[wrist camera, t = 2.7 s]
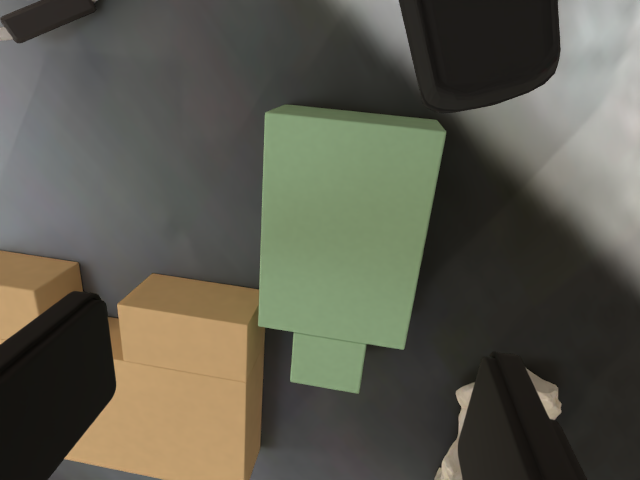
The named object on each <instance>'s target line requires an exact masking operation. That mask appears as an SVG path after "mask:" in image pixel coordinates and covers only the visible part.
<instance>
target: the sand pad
mask: <svg viewBox="0 0 640 480" xmlns="http://www.w3.org/2000/svg"><path fill="white" fill-rule="evenodd" d="M72 291H80V292H83V288H82V281H81V274H80V268H79V263H78V262H72V261H66V260H59V259H53V258H46V257H40V256H33V255H26V254H20V253H13V252H7V251H0V344H2V343H3V342H4V341H6V340H7V339H8V338H10V337H11V336H12V335H14V334H15V333H16V332H18V331H19V330H20V329H22V328H23V327H24V326H26V325H27V324H29V323H30V322H31V321H33V320H34V319H35V318H37V317H38V316H39V315H41V314H42V313H43V312H45V311H46V310H47V309H49V308H50V307H51V306H53V305H54V304H55V303H57V302H58V301H59V300H61V299H62V298H63V297H65V296H66V295H67V294H69V293H71V292H72ZM117 308H118V317H119V319H118V318H112V317H108V322H109V330H110V338H111V345H112V353H113V361H114V369H115V376H116V391H115V394H114V396H113V398H112V399H111V401H110V402H109V403H108V404H107V406H106V407H105V408H104V409H103V411H102V412H101V413H100V414H99V416H98V417H97V418H96V419H95V421H94V422H93V423H92V424H91V426H90V427H89V428H88V429H87V431H86V432H85V433H84V434H83V436H82V437H81V438H80V440H79V441H78V442H77V443H76V445H75V446H74V447H73V448H72V450H71V451H70V452H69V453H68V455H67V456H66V457H65V458H64V459H67V460H72V461H77V462H82V463H87V464H91V465H96V466H101V467H106V468H111V469H116V470H121V471H125V472H130V473H135V474H140V475H145V476H150V477H155V478H160V479H164V480H249V479H250V476H251V474H252V471H253V468H254V465H255V462H256V459H257V456H258V453H259V450H260V440H261V415H262V390H263V365H264V341H265V327H259V326H258V315H259V289H252V288H246V287H239V286H233V285H226V284H219V283H213V282H206V281H200V280H193V279H186V278H180V277H173V276H167V275H160V274H153V273H152V274H151V275H150V276H149V277H148V278H146V279H145V280H144V281H143V282H142V283H141V284H140V285H138V286H137V287H136V288H135V289H134V290H133V291H132V292H131V293H129V294H128V295H127V296H126V297H125V298H124V299H123V300H121V301H120V302H119V303H118V304H117Z"/></svg>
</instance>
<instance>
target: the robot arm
mask: <svg viewBox="0 0 640 480" xmlns="http://www.w3.org/2000/svg"><path fill="white" fill-rule="evenodd" d="M115 391H116V376H115V369H114V361H113V353H112V345H111V338H110V330H109V322H108V314H107V307H106V303H105V302H104V301H101V298H100V296H99V295H97V294H93V293H87V292H80V291H72V292H71V293H69V294H67V295H66V296H65V297H63V298H62V299H61V300H59V301H58V302H57V303H55V304H54V305H53V306H51V307H50V308H49V309H47V310H46V311H45V312H43V313H42V314H41V315H39V316H38V317H37V318H35V319H34V320H33V321H31V322H30V323H29V324H27V325H26V326H24V327H23V328H22V329H20V330H19V331H18V332H16V333H15V334H14V335H12V336H11V337H10V338H8V339H7V340H6V341H4V342H3V343H2V344H0V480H48V478H49V477H50V476H51V475H52V473H53V472H54V471H55V470H56V468H57V467H58V466H59V465H60V463H61V462H62V461H63V460H64V458H65V457H66V456H67V455H68V453H69V452H70V451H71V450H72V448H73V447H74V446H75V445H76V443H77V442H78V441H79V440H80V438H81V437H82V436H83V434H84V433H85V432H86V431H87V429H88V428H89V427H90V426H91V424H92V423H93V422H94V421H95V419H96V418H97V417H98V416H99V414H100V413H101V412H102V411H103V409H104V408H105V407H106V406H107V404H108V403H109V402H110V401H111V399H112V398H113V396H114V394H115ZM458 459H459V464H460V469H461V474H462V479H463V480H587V478H586V476H585V474H584V472H583V470H582V468H581V466H580V464H579V462H578V460H577V458H576V456H575V454H574V452H573V450H572V448H571V446H570V444H569V442H568V440H567V438H566V436H565V434H564V432H563V430H562V428H561V426H560V425H559V423H558V422H556V421H555V420H553V419H549V416H548V414H547V412H546V410H545V408H544V406H543V404H542V402H541V399H540V397H539V395H538V393H537V391H536V389H535V387H534V385H533V383H532V380H531V378H530V376H529V374H528V372H527V370H526V368H525V366H524V363H523V361H522V359H521V358H520V356H518V355H514V354H507V353H500V352H492V353H491V355H490V357H483V358H482V360H481V362H480V366H479V370H478V373H477V377H476V380H475V384H474V387H473V391H472V394H471V398H470V401H469V405H468V408H467V412H466V416H465V419H464V423H463V426H462V430H461V433H460V437H459V441H458Z"/></svg>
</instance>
